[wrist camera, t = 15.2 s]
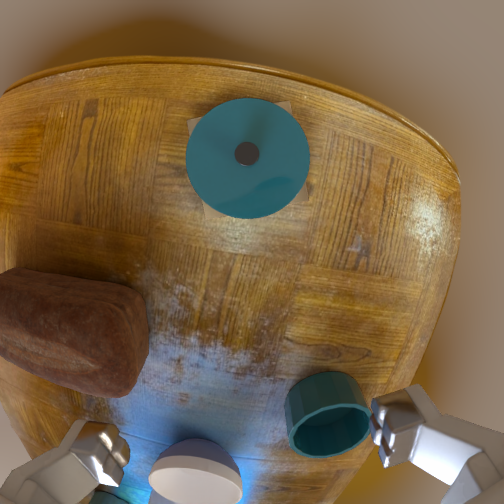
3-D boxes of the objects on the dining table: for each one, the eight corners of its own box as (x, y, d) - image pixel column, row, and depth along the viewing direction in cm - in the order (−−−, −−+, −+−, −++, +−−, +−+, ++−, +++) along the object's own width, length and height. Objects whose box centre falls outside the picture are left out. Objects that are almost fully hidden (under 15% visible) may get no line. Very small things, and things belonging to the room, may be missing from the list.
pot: (360, 363, 40) (376, 393, 33) (358, 416, 43) (370, 446, 35) (279, 380, 40) (283, 414, 33) (289, 431, 43) (293, 464, 36)
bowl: (153, 457, 46) (142, 492, 37) (169, 414, 42) (156, 455, 33) (227, 479, 47) (224, 514, 38) (257, 441, 44) (257, 482, 35)
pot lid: (295, 92, 30) (301, 79, 25) (317, 206, 33) (327, 210, 29) (178, 114, 31) (167, 105, 26) (200, 227, 34) (192, 234, 29)
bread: (159, 365, 40) (133, 421, 28) (22, 330, 40) (-18, 362, 28) (155, 278, 37) (116, 320, 25) (9, 257, 36) (-41, 279, 24)
